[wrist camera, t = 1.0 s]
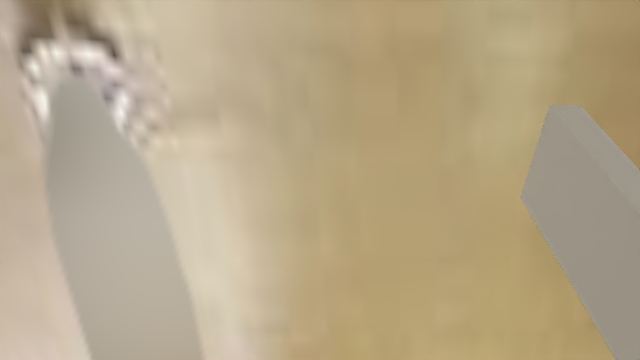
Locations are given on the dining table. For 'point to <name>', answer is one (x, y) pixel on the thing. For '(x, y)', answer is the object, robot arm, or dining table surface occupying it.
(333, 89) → the dining table surface
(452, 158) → the dining table surface
